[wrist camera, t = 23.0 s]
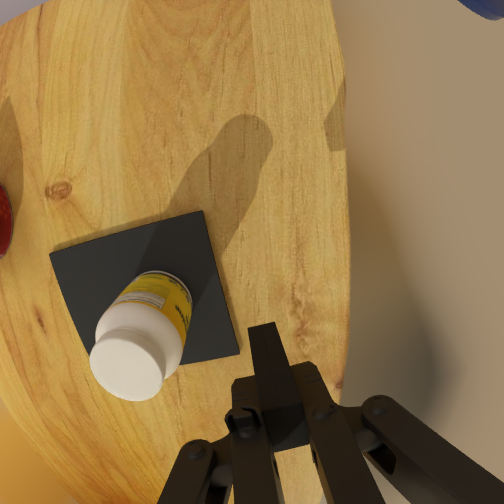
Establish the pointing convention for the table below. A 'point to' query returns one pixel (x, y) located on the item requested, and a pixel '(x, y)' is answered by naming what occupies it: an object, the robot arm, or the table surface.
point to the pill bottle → (142, 336)
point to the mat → (144, 260)
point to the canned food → (5, 222)
